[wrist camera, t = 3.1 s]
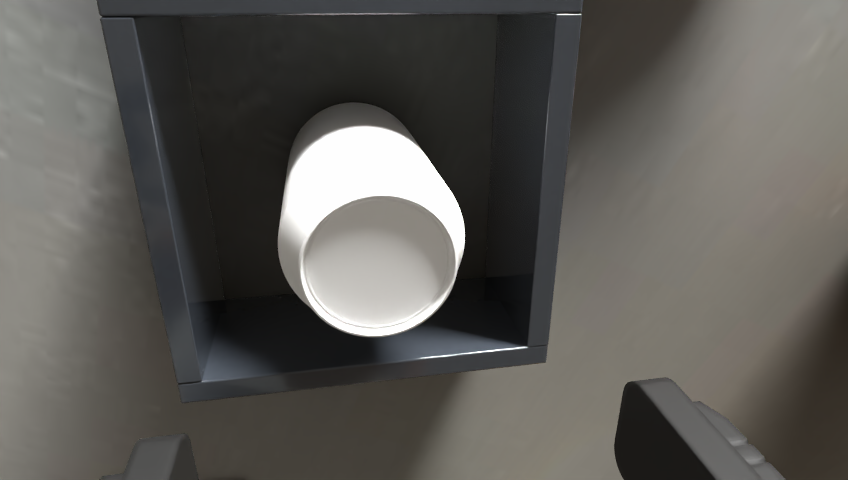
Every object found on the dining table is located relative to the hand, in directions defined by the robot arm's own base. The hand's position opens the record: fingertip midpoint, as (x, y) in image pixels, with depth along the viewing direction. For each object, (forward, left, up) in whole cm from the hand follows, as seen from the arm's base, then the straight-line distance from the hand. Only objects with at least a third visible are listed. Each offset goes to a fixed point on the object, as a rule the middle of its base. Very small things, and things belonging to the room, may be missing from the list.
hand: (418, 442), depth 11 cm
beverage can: (0, 0, -20) cm, 20 cm away
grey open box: (0, 0, -20) cm, 20 cm away
